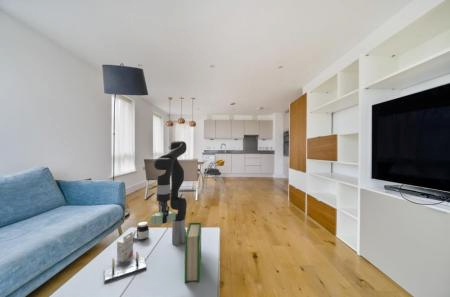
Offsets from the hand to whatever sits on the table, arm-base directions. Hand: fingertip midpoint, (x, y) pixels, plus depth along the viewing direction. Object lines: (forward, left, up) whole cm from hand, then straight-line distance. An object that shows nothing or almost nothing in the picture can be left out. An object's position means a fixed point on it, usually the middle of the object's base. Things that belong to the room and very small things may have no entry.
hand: (163, 221), depth 106 cm
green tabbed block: (0, 0, 0) cm, 0 cm away
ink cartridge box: (+17, -24, -27) cm, 40 cm away
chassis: (+18, -10, -27) cm, 34 cm away
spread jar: (+5, -46, -27) cm, 54 cm away
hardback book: (-14, +12, -27) cm, 33 cm away
